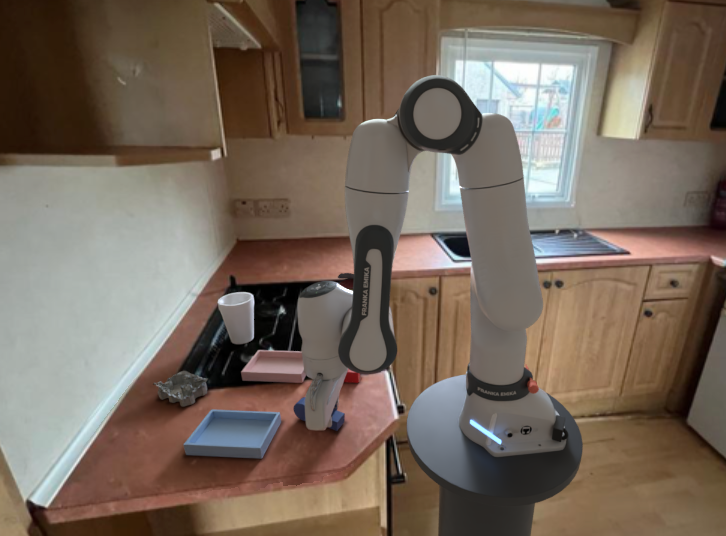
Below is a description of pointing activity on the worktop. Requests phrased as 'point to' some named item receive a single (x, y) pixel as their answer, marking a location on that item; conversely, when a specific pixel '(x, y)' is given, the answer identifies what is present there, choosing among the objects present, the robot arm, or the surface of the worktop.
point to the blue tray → (233, 434)
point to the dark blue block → (337, 415)
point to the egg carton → (182, 388)
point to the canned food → (347, 280)
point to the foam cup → (238, 316)
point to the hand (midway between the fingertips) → (331, 416)
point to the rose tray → (275, 367)
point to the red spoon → (352, 377)
